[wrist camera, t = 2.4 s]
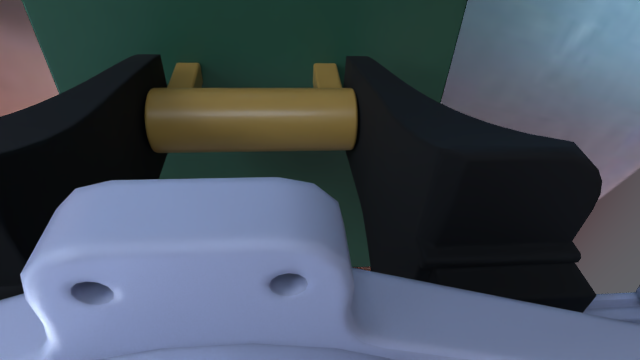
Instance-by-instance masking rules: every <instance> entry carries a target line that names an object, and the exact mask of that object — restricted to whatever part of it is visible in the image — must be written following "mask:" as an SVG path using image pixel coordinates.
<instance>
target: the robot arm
mask: <svg viewBox="0 0 640 360" xmlns="http://www.w3.org/2000/svg"><path fill="white" fill-rule="evenodd" d="M152 88H167V83H166V78H165V74H164V69H163V64H162V59H161V55H160V54H136V55H133V56H131V57H128V58H126V59H124V60H122V61H121V62H119V63H117V64H115V65H113V66H112V67H110V68H108V69H106V70H104V71H103V72H101V73H99V74H97V75H96V76H94V77H92V78H90V79H88V80H87V81H85V82H83V83H81V84H79V85H77V86H75V87H73V88H71V89H69V90H67V91H65V92H63V93H61V94H59V95H57V96H55V97H52V98H50V99H48V100H46V101H43V102H41V103H38V104H36V105H33V106H31V107H28V108H25V109H23V110H20V111H17V112H14V113H11V114H8V115H5V116H2V117H0V360H640V285H639V287H638V288H637V290H636V292H633V293H632V292H631V293H612V294H595V292H594V291H593V289H592V288H591V286H590V285H589V283H588V282H587V280H586V279H585V277H584V276H583V275H582V273H581V271H580V270H579V269H578V267H577V266H576V264H575V263H574V262H578V261H579V260H580V259H581V254H580V252H579V251H578V249H577V248H576V246H575V245H574V243H573V242H572V240H573V239H574V237H575V236H576V234H577V232H578V231H579V230H580V228H581V227H582V225H583V224H584V222H585V221H586V219H587V218H588V216H589V215H590V213H591V212H592V210H593V208H594V206H595V204H596V202H597V200H598V198H599V196H600V193H601V186H602V179H601V176H600V173H599V170H598V169H597V168H596V166H595V165H594V164H593V163H592V162H591V161H590V160H589V159H588V157H587V156H586V155H585V154H584V153H583V152H582V151H581V150H580V149H579V147H578V146H577V145H576V144H575V143H574V142H571V141H565V140H559V139H554V138H548V137H543V136H537V135H532V134H527V133H523V132H519V131H515V130H511V129H508V128H504V127H500V126H497V125H494V124H490V123H487V122H484V121H481V120H479V119H476V118H473V117H470V116H468V115H465V114H463V113H460V112H458V111H455V110H453V109H451V108H449V107H447V106H445V105H443V104H441V103H439V102H437V101H435V100H433V99H431V98H429V97H428V96H426V95H424V94H423V93H421V92H419V91H418V90H416V89H414V88H413V87H411V86H410V85H408V84H407V83H405V82H404V81H403V80H401V79H400V78H398V77H397V76H395V75H394V74H393V73H391V72H390V71H389V70H387V69H386V68H385V67H383V66H382V65H381V64H379V63H378V62H377V61H375V60H374V59H372V58H370V57H369V56H346V64H345V75H344V85H343V88H352V89H353V90H354V92H355V94H356V99H357V107H358V130H357V138H356V143H355V146H354V148H353V149H352V150H345V151H346V155H347V158H348V162H349V165H350V169H351V172H352V176H353V179H354V183H355V186H356V190H357V193H358V197H359V200H360V204H361V208H362V213H363V219H364V225H365V231H366V238H367V244H368V251H369V258H370V265H371V271H367V270H362V269H357V268H352V266H351V260H350V255H349V249H348V243H347V237H346V232H345V226H344V222H343V218H342V214H341V211H340V207H339V203H338V201H336V200H335V199H334V198H332V197H331V196H330V195H329V194H327V193H326V192H325V191H323V190H322V189H321V188H319V187H318V186H317V185H315V184H314V183H308V182H303V181H297V180H292V179H286V178H281V177H252V178H199V179H159V177H160V174H161V171H162V168H163V165H164V162H165V159H166V157H167V154H168V153H157V152H154V151H153V150H152V148H151V146H150V144H149V141H148V138H147V134H146V128H145V102H146V97H147V94H148V92H149V90H150V89H152Z"/></svg>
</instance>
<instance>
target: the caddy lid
mask: <svg viewBox="0 0 640 360" xmlns="http://www.w3.org/2000/svg"><path fill="white" fill-rule="evenodd" d="M467 1H468V0H22V2H23V5H24V7H25V10H26V12H27V15H28V17H29V20H30V22H31V25H32V27H33V30H34V32H35V35H36V37H37V40H38V42H39V45H40V47H41V50H42V52H43V55H44V57H45V60H46V62H47V64H48V67H49V69H50V72H51V74H52V77H53V79H54V82H55V84H56V87H57V89H58V92H59V94H61V93H63V92H65V91H67V90H69V89H71V88H73V87H75V86H77V85H79V84H81V83H83V82H85V81H87V80H88V79H90V78H92V77H94V76H96V75H97V74H99V73H101V72H103V71H104V70H106V69H108V68H110V67H112V66H113V65H115V64H117V63H119V62H121V61H122V60H124V59H126V58H128V57H131V56H133V55H136V54H160V55H161V59H162V64H163V69H164V74H165V78H166V83H167V88H152V89H150V90H149V92H148V94H147V97H146V102H145V128H146V134H147V138H148V141H149V144H150V146H151V148H152V150H153V151H154V152H157V153H168V154H167V157H166V159H165V162H164V165H163V168H162V171H161V174H160V177H159V179H199V178H252V177H281V178H286V179H292V180H297V181H303V182H308V183H314V184H315V185H317V186H318V187H319V188H321V189H322V190H323V191H325V192H326V193H327V194H329V195H330V196H331V197H332V198H334V199H335V200H336V201H338V203H339V207H340V211H341V214H342V218H343V222H344V226H345V232H346V237H347V243H348V249H349V255H350V260H351V266H352V267H369V266H371V265H370V258H369V251H368V244H367V238H366V231H365V225H364V219H363V213H362V208H361V204H360V200H359V197H358V193H357V190H356V186H355V183H354V179H353V176H352V172H351V169H350V165H349V162H348V158H347V155H346V151H345V150H352V149H353V148H354V146H355V143H356V138H357V130H358V107H357V99H356V94H355V92H354V90H353V89H352V88H343V85H344V75H345V64H346V56H369V57H370V58H372V59H374V60H375V61H377V62H378V63H379V64H381V65H382V66H383V67H385V68H386V69H387V70H389V71H390V72H391V73H393V74H394V75H395V76H397V77H398V78H400V79H401V80H403V81H404V82H405V83H407V84H408V85H410V86H411V87H413V88H414V89H416V90H418V91H419V92H421V93H423V94H424V95H426V96H428V97H429V98H431V99H433V100H435V101H437V102H439V103H441V99H442V95H443V91H444V88H445V84H446V80H447V76H448V73H449V69H450V65H451V61H452V58H453V54H454V50H455V46H456V43H457V39H458V35H459V31H460V27H461V24H462V20H463V16H464V12H465V9H466V5H467Z"/></svg>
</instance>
